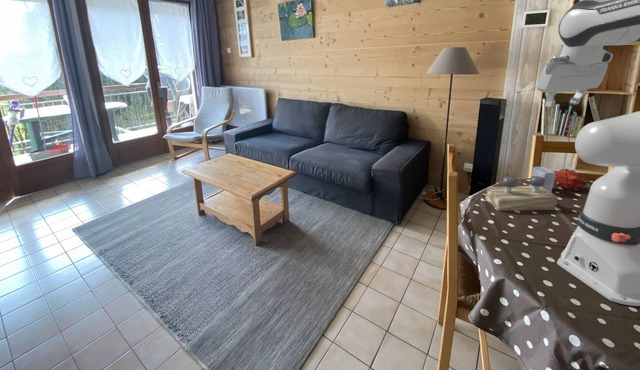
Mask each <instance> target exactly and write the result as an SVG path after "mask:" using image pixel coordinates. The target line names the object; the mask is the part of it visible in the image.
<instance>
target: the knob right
mask: <svg viewBox="0 0 640 370" xmlns="http://www.w3.org/2000/svg"><path fill="white" fill-rule="evenodd" d="M530 179H531V180H530ZM530 179H529V184H531V185H533V186H532V190H531V191H532V192H533V193H538V192H539V188H540V187H543V186H544V183H545V180H546V179H545V178H543V177H539V176H532V177H531V176H530Z"/></svg>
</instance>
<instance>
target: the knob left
mask: <svg viewBox="0 0 640 370" xmlns="http://www.w3.org/2000/svg"><path fill="white" fill-rule="evenodd" d="M517 183H518V178H515V177H513V176H504V177H503V179H502V183H501V185H502V186H503V187H505V189H504V192H505V193H511V190H512V187H516V186H517Z"/></svg>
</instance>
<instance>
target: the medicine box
mask: <svg viewBox="0 0 640 370" xmlns="http://www.w3.org/2000/svg"><path fill="white" fill-rule="evenodd" d="M556 173H557V172H555V171H553V170H552V169H550V168H547V167H545V166H533V167H532V171H531V175H530V179H529V181H530V180H531V177H532V176H539V177H543V178H545V179H546V180H545V183H544V186H543V188H544V189H546V190H548V191H549V192H551V193H553V192H552V191H553V188H554V184H555V181H554V180H555V176H556ZM528 186H533V185H531V184H530V183H529V184H528Z"/></svg>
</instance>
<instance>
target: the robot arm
mask: <svg viewBox="0 0 640 370" xmlns="http://www.w3.org/2000/svg"><path fill="white" fill-rule="evenodd" d="M558 34H559V38H560V40H561V41H562V43H563V45H562V49H561V51H560V54H559V56H554V57H552V58H551V59H550V60H549V61H548V62H547V63H546V65H545V66H544V68H543V70H542V73H541V75H540V77H539V79H538V82H537V84H536V88H537V90H538V91H539V92H542V93H545V98H546V99H545V103H544V104H545V105H544V106H545V107H546V108H551V107H553V108H554V107H555V105H556V102H557V101H556V100H555V96H556V95H557V92H569V91H575V92H576V93H575V94H574V95H573V97H572V96H571V98H570V100H569V104H570V105H578V104H580V101H581V99H582V98H583V97H584V95H586V93H587V91H588V90H590V89H597V88H598V87H599V86H601V83H602V82H603V80H604V78H605V75H606V73H607V71H608V70H607V69H608V63H610V62H612V59H613V57H614V54H613V53H611V52H609V51H607V50H606V49H604V46H624V45H629V44H630V45H631V44H634V43H636V42H638V41H639V40H640V0H579V1H578V2H577V3H574V5H573V6H571V7H570V8H569V9H568V10H567V11H566V12H565V13H564V15H563V16H562V17H561V19H560V22H559V24H558ZM574 148H575V153H576V154H577V156H578V158H579V159H581V161H583V163H586V164H589V165H594V166H601V167H608V168H611V169H610V170H609V171H608V172H607V173H606V174H604V175H602V176H600V177H598V178H597V179H596V180H594V181H593V183H592V184H591V186H590V188H589V192H588V195H587V198H586V201H585V204H584V206H583V207H584V208H582V209H581V211H580V212H579V214H578V217H577V221H576V223H577V227H576V229H575V230H574V231H573V233H572V234H571V236H570V239H569V240H568V243H567V245H566V247H565V249H563V250H562V251H561V253H560V257H559V258H558V260H557V262H556V264H557V265H558V266H559V267H561V268H562V269H563V270H565V271H566V272H568V273H569V274H571V275H572V276H574V277H576V278H577V280H580V281H581V282H582V283H584V284H585V285H587V286H588V287H590V288H591V289H593V290H594V291H596V292H597V293H599V295H601V296H603V297H604V298H606V299H608V300H609V301H611V302H614V303H616V304H617V303H618V304H621V305H626V306H632V307H640V110H639V111H635V112H630V113H627V114H622V115H619V116H615V117H610V118H605V119H601V120H597V121H593V122H592V121H591V122H590V123H587V124H586V125H584V126H583V127H581V129H580V130H579V131H578V133H577V135H576V137H575V141H574Z"/></svg>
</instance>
